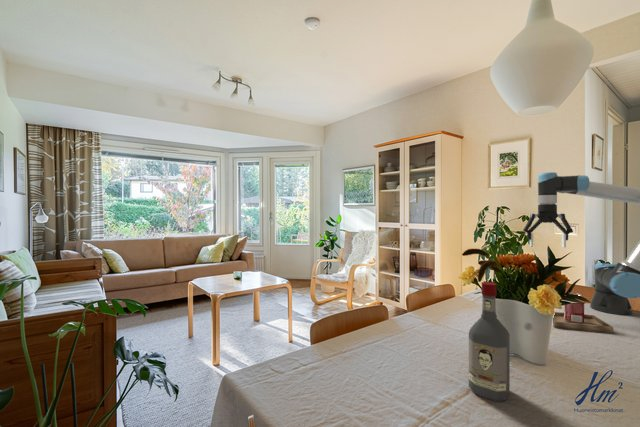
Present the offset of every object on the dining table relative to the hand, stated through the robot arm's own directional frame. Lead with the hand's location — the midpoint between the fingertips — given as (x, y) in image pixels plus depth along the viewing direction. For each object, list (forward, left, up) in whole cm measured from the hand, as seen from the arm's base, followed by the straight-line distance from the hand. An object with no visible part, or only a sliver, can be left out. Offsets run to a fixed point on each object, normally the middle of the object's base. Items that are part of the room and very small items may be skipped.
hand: (547, 246), depth 151 cm
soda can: (-4, +18, -31) cm, 36 cm away
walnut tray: (-4, +18, -32) cm, 37 cm away
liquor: (+42, +84, -32) cm, 99 cm away
